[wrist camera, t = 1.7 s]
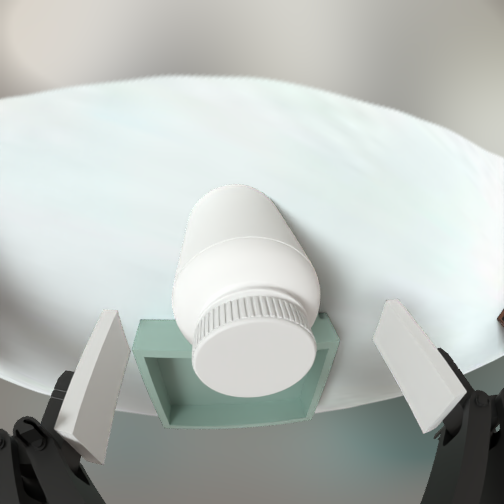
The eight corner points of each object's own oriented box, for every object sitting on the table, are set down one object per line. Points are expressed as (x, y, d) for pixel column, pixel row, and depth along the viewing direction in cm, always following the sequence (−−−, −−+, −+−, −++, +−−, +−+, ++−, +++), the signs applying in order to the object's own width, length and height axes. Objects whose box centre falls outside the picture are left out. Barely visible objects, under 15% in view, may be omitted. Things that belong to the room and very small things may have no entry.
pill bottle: (217, 281, 26) (224, 426, 13) (170, 211, 23) (117, 337, 10) (294, 243, 26) (363, 371, 12) (254, 164, 22) (312, 241, 9)
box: (166, 402, 35) (163, 428, 31) (140, 319, 27) (131, 349, 23) (304, 395, 37) (311, 419, 33) (326, 312, 30) (340, 340, 26)
